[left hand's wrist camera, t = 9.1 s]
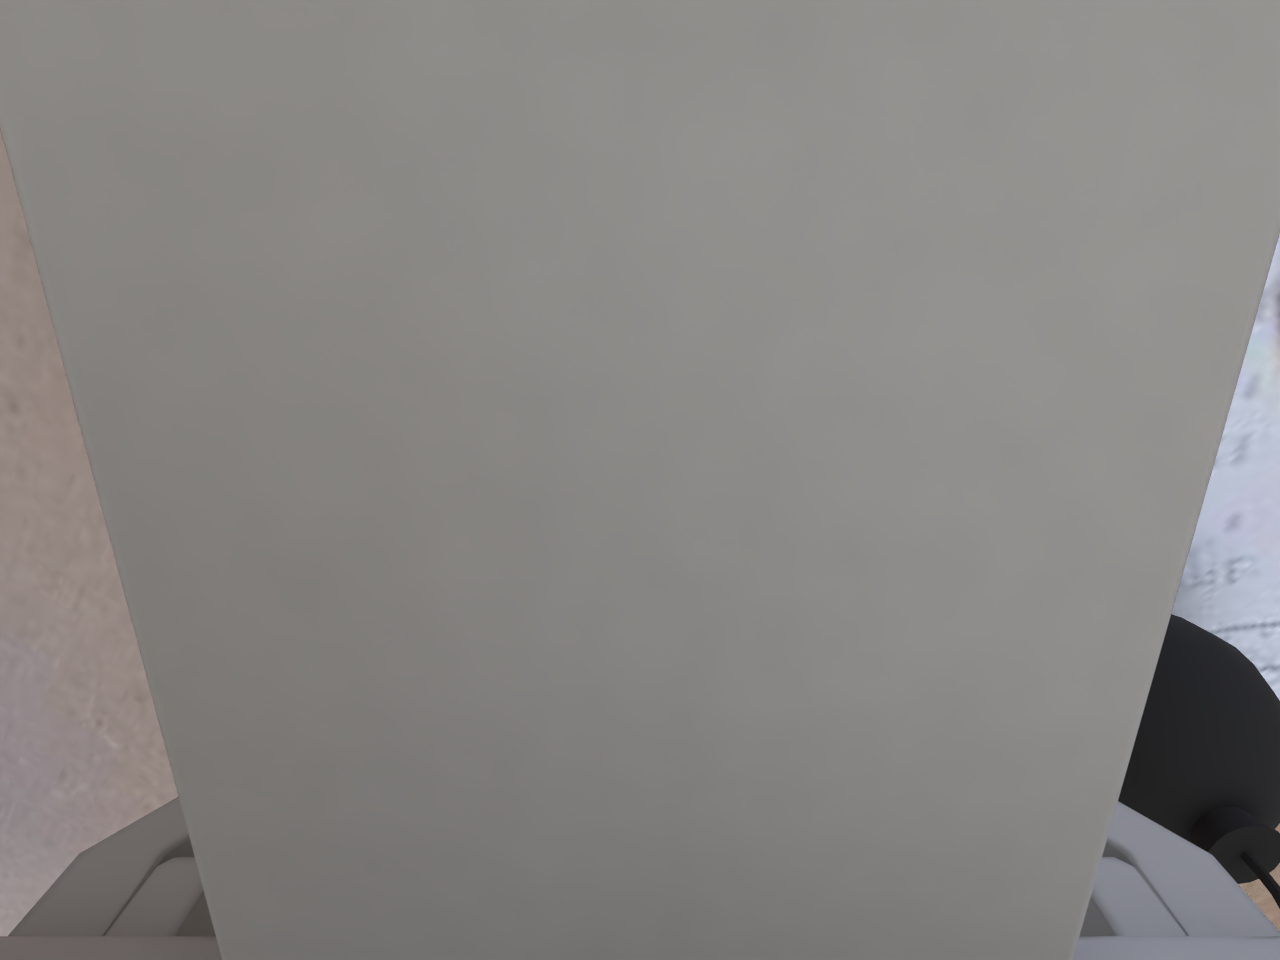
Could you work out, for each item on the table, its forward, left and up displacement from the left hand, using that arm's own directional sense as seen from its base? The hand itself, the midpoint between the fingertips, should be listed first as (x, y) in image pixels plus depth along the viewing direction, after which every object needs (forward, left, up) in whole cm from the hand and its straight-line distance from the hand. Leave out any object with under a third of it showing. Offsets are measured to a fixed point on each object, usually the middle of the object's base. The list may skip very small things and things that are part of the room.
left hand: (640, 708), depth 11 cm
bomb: (0, -18, -15) cm, 23 cm away
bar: (+7, +4, -4) cm, 8 cm away
